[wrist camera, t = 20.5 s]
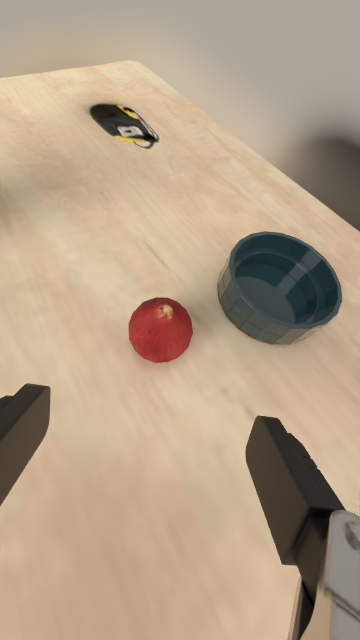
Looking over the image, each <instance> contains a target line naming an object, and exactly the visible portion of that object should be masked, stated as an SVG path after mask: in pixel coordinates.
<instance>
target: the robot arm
mask: <svg viewBox="0 0 360 640" xmlns="http://www.w3.org/2000/svg"><path fill="white" fill-rule="evenodd" d="M49 415H50V387H49V386H43V385H36V384H28V383H27V384H25V385H24V386H23V387H22V388H21V389H20V390H19V391H18V392H17V393H16V394H15V395H14V396H5V397H3V398H1V399H0V506H1V504H2V503H3V501H4V500H5V498H6V496H7V495H8V493H9V492H10V490H11V489H12V487H13V485H14V484H15V482H16V481H17V479H18V478H19V476H20V475H21V473H22V471H23V470H24V468H25V467H26V465H27V464H28V462H29V461H30V459H31V457H32V456H33V454H34V453H35V451H36V450H37V448H38V446H39V445H40V443H41V442H42V440H43V439H44V437H45V434H46V432H47V429H48V425H49ZM246 462H247V466H248V468H249V471H250V474H251V477H252V480H253V483H254V486H255V488H256V491H257V494H258V497H259V500H260V503H261V506H262V508H263V511H264V514H265V517H266V520H267V523H268V526H269V528H270V531H271V534H272V537H273V540H274V543H275V545H276V548H277V551H278V554H279V557H280V560H281V563H282V564H283V565H295V566H297V567H298V569H299V572H300V574H301V576H300V578H299V580H298V583H297V589H296V594H295V600H294V606H293V611H292V617H291V623H290V628H289V634H288V640H360V517H359V516H357V515H355V514H353V513H351V512H348V511H346V510H345V508H344V507H343V505H342V504H341V502H340V501H339V499H338V498H337V496H336V494H335V493H334V491H333V490H332V488H331V487H330V485H329V484H328V482H327V481H326V479H325V478H324V476H323V475H322V473H321V472H320V470H318V469H317V466H316V464H315V463H314V461H313V460H312V459H311V458H310V455H309V454H308V452H307V450H306V449H305V447H304V446H303V444H302V443H300V442H299V441H298V440H297V439H296V438H295V437H294V436H293V435H292V434H291V433H287V431H286V430H285V428H284V426H283V425H282V423H281V422H280V420H279V419H278V418H273V417H266V416H257V417H256V419H255V421H254V424H253V427H252V430H251V433H250V437H249V440H248V443H247V446H246Z"/></svg>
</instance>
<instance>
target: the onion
mask: <svg viewBox="0 0 360 640" xmlns="http://www.w3.org/2000/svg"><path fill="white" fill-rule="evenodd" d="M192 334H193V330H192V323H191V318H190V316H189V314H188V313H187V311H186V309H185V308H184V307H182V306H181V305H180V304H179V303H178V302H176V301H174V300H172V299H169V298H158V297H156V298H153V299H151V300H148V301H145V302H143V303H142V304H141V305H140V306H139V307H138V308H137V309H136V310H135V311H134V312H133V314H132V317H131V319H130V322H129V339H130V341H131V343H132V345H133V347H134V349H135V351H136V352H137V353H138V354H139V355H140V356H142V357H143V358H144V359H146V360H149V361H152V362H154V363H162V362H169V361H171V360H173V359H176V358H178V357H179V356H180V355H181V354H182V353H183V352H184V351H185V350H186V349H187V348H188V346H189V343H190V340H191V337H192Z"/></svg>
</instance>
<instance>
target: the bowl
mask: <svg viewBox="0 0 360 640" xmlns="http://www.w3.org/2000/svg"><path fill="white" fill-rule="evenodd" d="M218 293H219V300H220V302H221V304H222V306H223V308H224V310H225V312H226V314H227V316H228V317H229V318H230V319H231V320H232V321H233V322H234V323H235V325H236V326H237V327H238V328H239V329H241V330H242V331H244V332H245V333H247V334H248V335H250V336H252V337H253V338H255V339H258V340H261V341H264V342H267V343H270V344H291V343H294V342H297V341H300V340H303V339H304V338H306V337H307V336H309V335H310V334H312V333H313V332H315V331H317V330H318V329H320V328H321V327H323V326H324V325H326V324H327V323H328V322H329V321H330V320H331V319H332V318H334V317H335V316H336V315H337V313H338V311H339V308H340V305H341V302H342V292H341V285H340V282H339V280H338V277H337V275H336V273H335V271H334V269H333V268H332V267H331V265H330V264H329V263H328V261H327V260H326V259H325V258H324V257H323V256H322V255H321V254H320V253H319V252H317V251H316V250H315V249H314V248H313V247H312V246H310V245H308V244H306V243H305V242H303V241H301V240H299V239H298V238H295V237H292V236H289V235H286V234H283V233H276V232H259V233H254V234H250V235H248V236H247V237H245V238H243V239H241V240H240V241H239V242H238V243H237V244H236V246H235V247H234V248H233V249H232V251H231V253H230V255H229V257H228V259H227V261H226V263H225V265H224V267H223V269H222V271H221V273H220V277H219V282H218Z"/></svg>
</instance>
